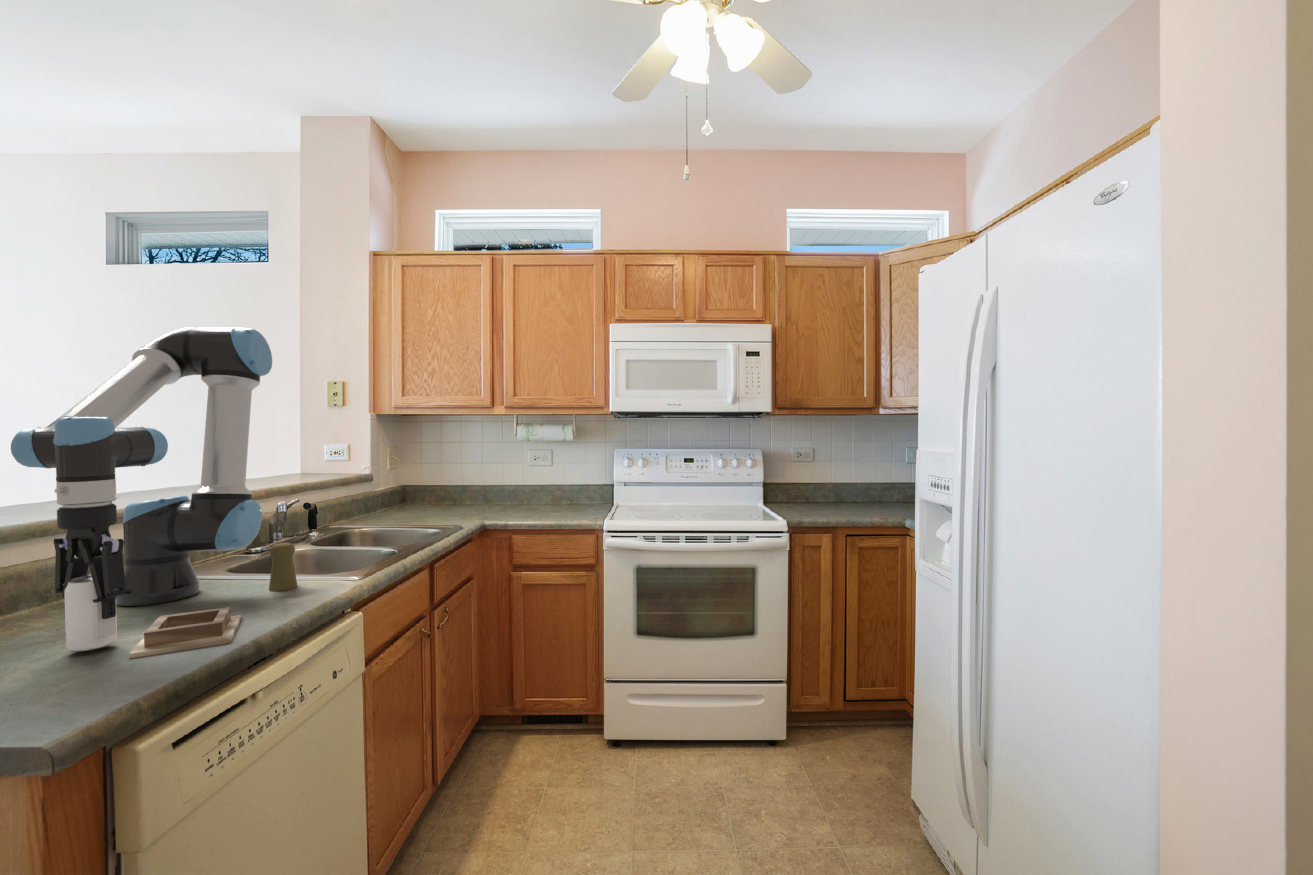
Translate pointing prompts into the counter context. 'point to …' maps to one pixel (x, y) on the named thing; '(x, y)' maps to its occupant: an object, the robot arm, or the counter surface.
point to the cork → (282, 567)
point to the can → (82, 616)
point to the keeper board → (187, 632)
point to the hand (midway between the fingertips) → (91, 634)
